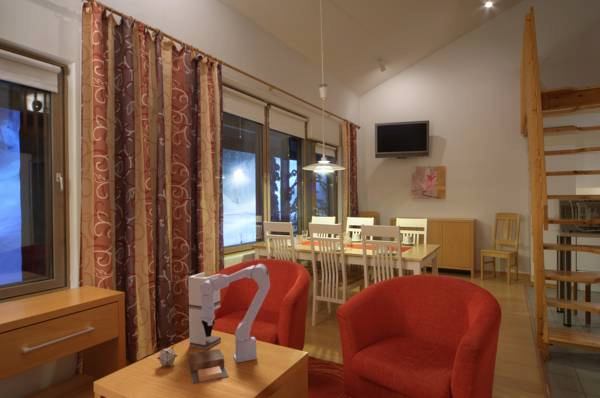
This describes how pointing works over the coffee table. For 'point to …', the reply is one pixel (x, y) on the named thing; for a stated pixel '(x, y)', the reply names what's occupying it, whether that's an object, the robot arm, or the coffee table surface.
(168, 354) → the grey spiky polyhedron
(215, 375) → the tan rectangular brick
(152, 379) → the coffee table surface
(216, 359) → the brown flat block
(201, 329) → the tall white column
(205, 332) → the robot arm
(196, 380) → the mat
